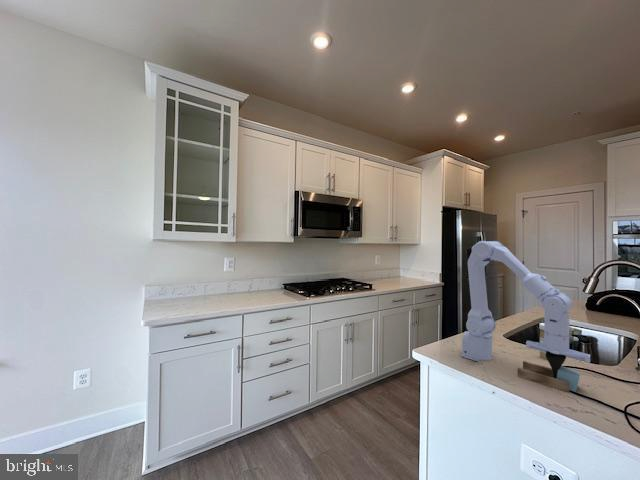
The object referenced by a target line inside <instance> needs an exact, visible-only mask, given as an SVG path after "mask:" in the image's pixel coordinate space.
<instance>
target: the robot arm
mask: <svg viewBox="0 0 640 480" xmlns="http://www.w3.org/2000/svg"><path fill="white" fill-rule="evenodd" d="M491 261H495V262H501V263H502V264H504V265H505V266H506V267H507V268H509V269H510V270H511V271H512V273H514V274H516V275H517V276H518V277H519V278H520V279H521V280H522V286H523V287H524V288H525V289H526V290H527V291H529V293H531V295H533V297H535V298H536V300H537V301H539V302H540V306H541V307H542V309H543V311H544V318H543V319H544V322H543V323H544V343H540V341H539V342H538V341H532V340H526V342H525V348H526V349H529V350H530V349H532V350H535V351H539V352H540V351H544V352H546V358H547V360H546V361H547V362H548V363H549V365H550V368H552V371H553V374H554V375H553V378H557V373H558V369H560V367H561V366H563V364H564V363H565V361H566V359H567V358H569V359H573V360H578V361H582V362H584V363H587V364H590V363H591V354H590V353H589V354H588V353H585V352H581V351H577V350H574V349H572V348H571V349H570V310H571V309H572V307H573V301H572V299H571V298H570V297H569V296H568V294H566V293H564V292H561V290H560V289H558V288H556V287H554V286H553V285H552V284H551V283H550V282H549V281H547V280H548V278H547V277H546V276H545V275H540V274H539V273H533V272H531V271H530V269H528V268H527V267H526V266H525V265H524V264H523V263H522V262H521V261H520V259H518V258H517V257H516V256H515V255H514V254H513V253H512V252H511V250H510V249H508V248H507V247H506V246H505V245H503V244H502V243H501V242H500V241H498V240H493V241H491V240H490V241H486V240H479V241H478V242H476V243H475V244H474V245H473V246H472V247H471V253H470V255H469V257H468V258H467V271H468V272H467V273H468V284H469V296H470V306H471V309H470V310H469V312H468V314H467V321H466V323H465V327H466V330H467V331H466V330H465V331H464V332H463V334H462V338H461V355H460V356H461V357H462V358H466V359H469V360H472V361H474V362H479V361H492V359H493V331H495V330H496V325H497V324H496V321H495V320H494V317H493V313H492V312H491V310H490V309H489V306H488V305H489V304H488V294H487V292H488V291H487V282H486V281H487V280H486V272H485V267H486V266H487V265H488V264H489V263H490V262H491Z"/></svg>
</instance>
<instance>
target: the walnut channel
mask: <svg viewBox="0 0 640 480" xmlns="http://www.w3.org/2000/svg"><path fill="white" fill-rule="evenodd" d="M553 375H554V374H553V371H552V368H551V367H548V366H544V365H540V364H538V363H537V364H536V363H533V362H531V361H530V362H529V361H526V360H523V361H522V368H521V367H517V377H518V378H520V379H524V380H528V381H530V382H534V383H537V384H540V385H543V386H546V387H549V388H553V389H556V390H559V391H563V392H566V393H568V394H569V393H570V391H571V390H569V382H566V381H563V380H559V379H556V378H553Z"/></svg>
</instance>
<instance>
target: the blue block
mask: <svg viewBox="0 0 640 480" xmlns="http://www.w3.org/2000/svg"><path fill="white" fill-rule="evenodd" d="M580 375H581V371H577V370H574V369H571V368H569V367H566V366H563V365H562V366H561V367H560V369H558V373H557V378H556V379H559V380H563V381H566V382H569V390H570V391H571V392H575V393H576V392H577V389H578V384H579V382H580V381H579V380H580Z"/></svg>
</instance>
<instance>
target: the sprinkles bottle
mask: <svg viewBox="0 0 640 480" xmlns="http://www.w3.org/2000/svg"><path fill="white" fill-rule="evenodd" d="M538 324H539V327H538V328H539V343H544V322H541V323H538ZM539 358H541V359H543V360H546V361H548V360H547V358H546V352H544V351H540V350H539Z"/></svg>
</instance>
